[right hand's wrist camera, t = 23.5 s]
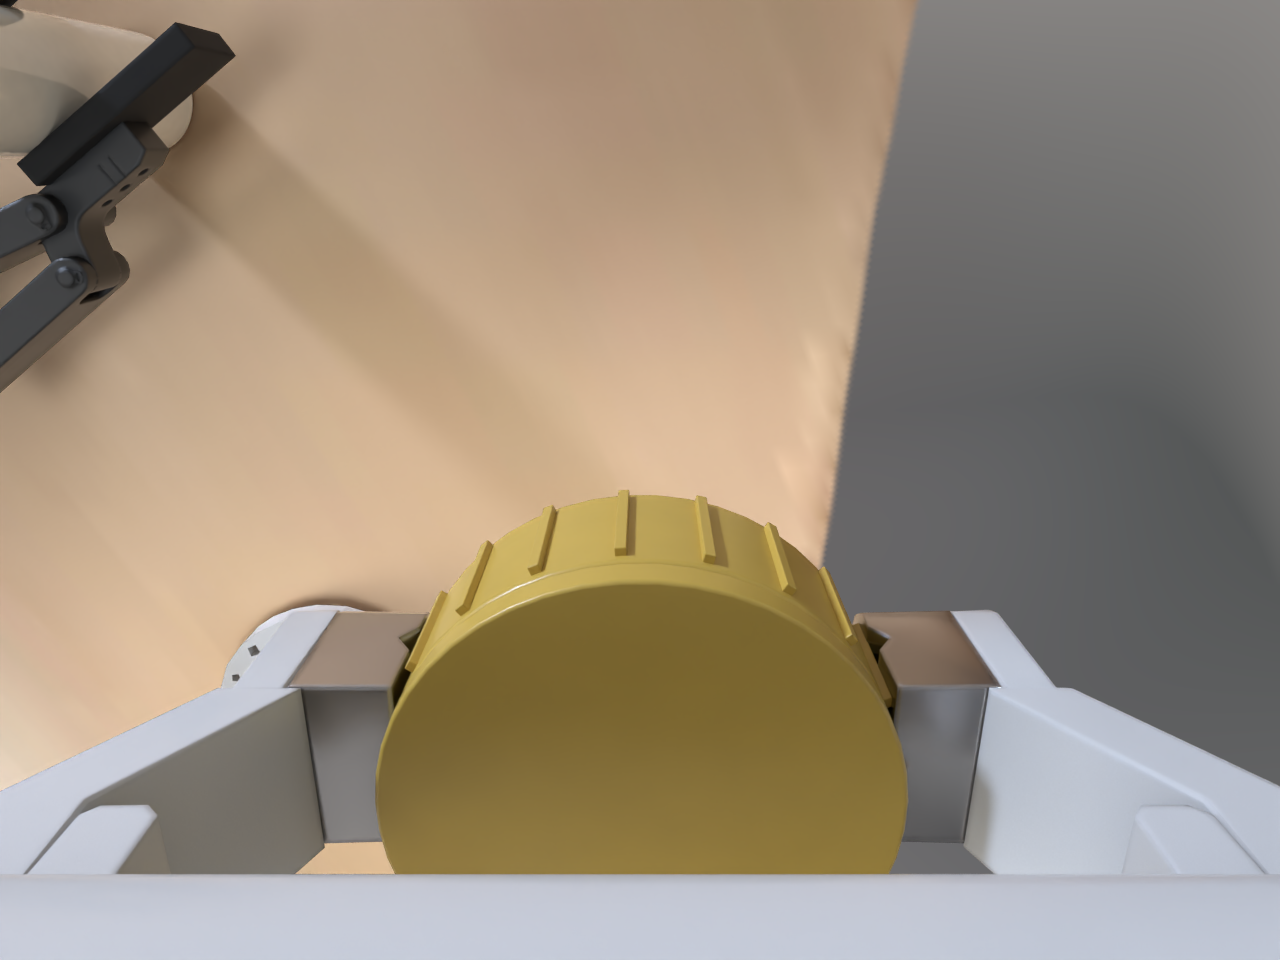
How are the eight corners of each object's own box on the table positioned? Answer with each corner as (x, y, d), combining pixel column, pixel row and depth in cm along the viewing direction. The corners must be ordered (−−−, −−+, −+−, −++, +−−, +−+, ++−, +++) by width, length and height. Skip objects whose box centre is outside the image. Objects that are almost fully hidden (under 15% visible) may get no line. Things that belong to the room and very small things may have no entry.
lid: (330, 713, 10) (261, 839, 8) (615, 389, 9) (607, 455, 7) (662, 932, 11) (665, 1083, 9) (960, 676, 10) (1030, 796, 8)
